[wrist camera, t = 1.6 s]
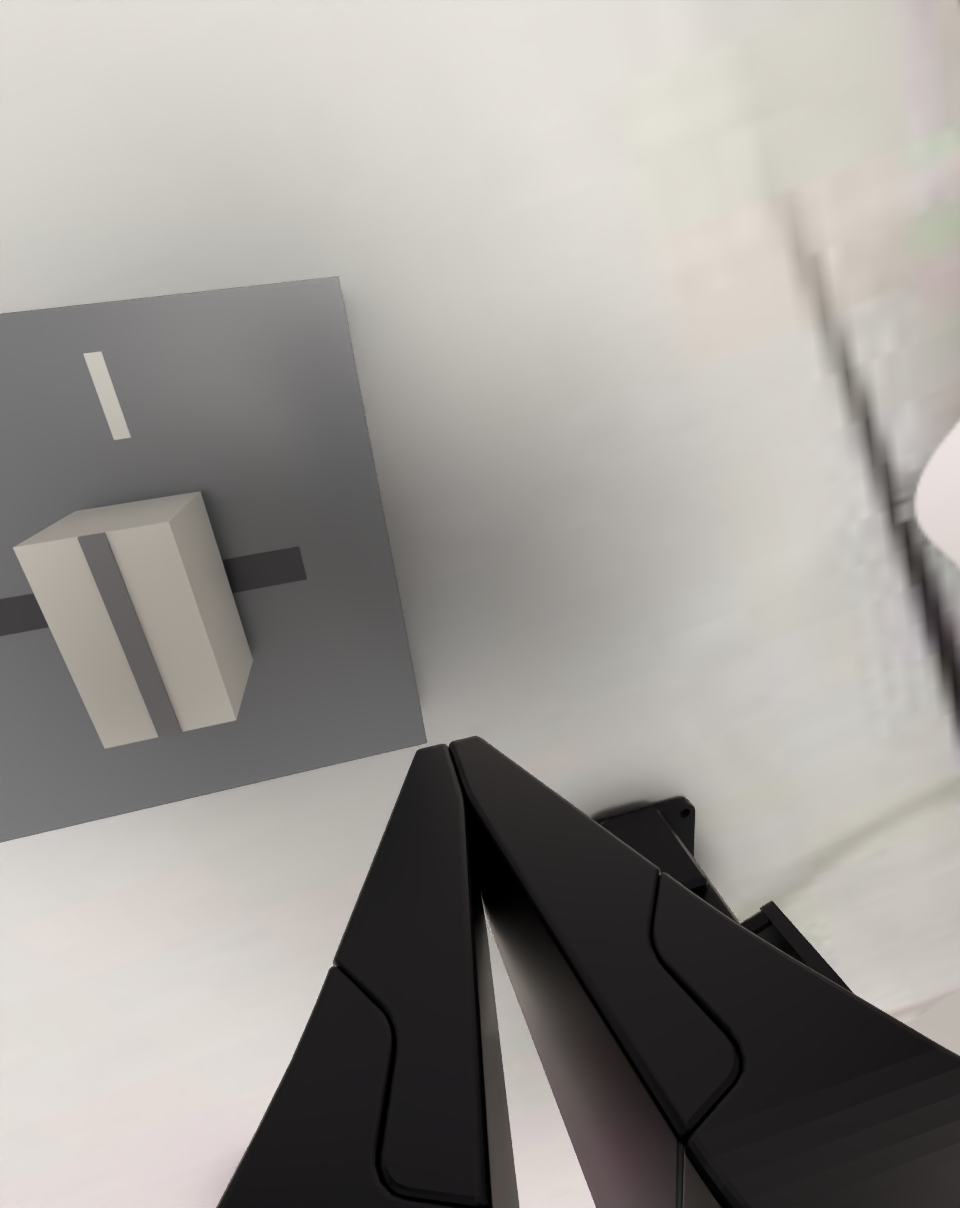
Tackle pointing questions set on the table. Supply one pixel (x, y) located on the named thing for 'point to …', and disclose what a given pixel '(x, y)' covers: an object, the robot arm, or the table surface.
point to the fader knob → (142, 616)
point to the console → (239, 522)
